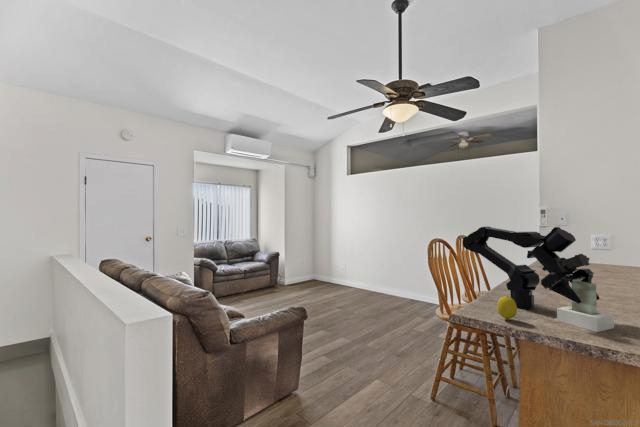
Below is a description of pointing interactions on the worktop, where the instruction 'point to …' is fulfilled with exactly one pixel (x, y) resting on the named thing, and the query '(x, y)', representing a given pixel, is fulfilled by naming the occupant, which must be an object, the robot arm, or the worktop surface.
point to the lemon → (507, 307)
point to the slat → (585, 297)
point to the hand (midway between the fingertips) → (589, 301)
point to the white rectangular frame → (586, 319)
